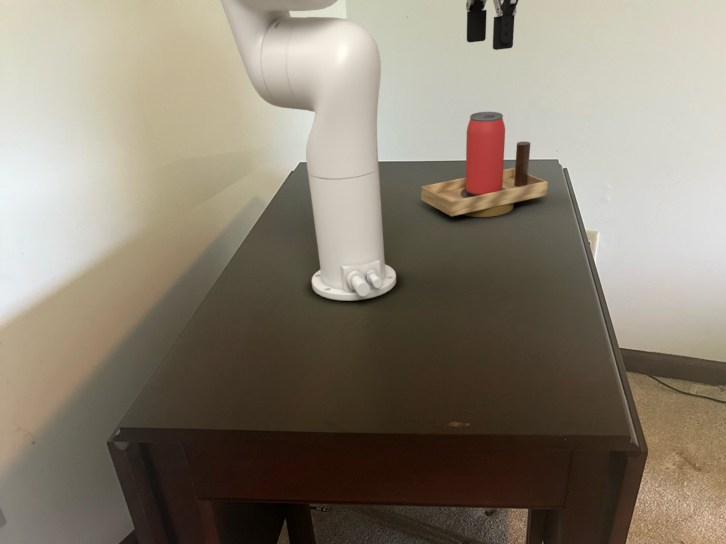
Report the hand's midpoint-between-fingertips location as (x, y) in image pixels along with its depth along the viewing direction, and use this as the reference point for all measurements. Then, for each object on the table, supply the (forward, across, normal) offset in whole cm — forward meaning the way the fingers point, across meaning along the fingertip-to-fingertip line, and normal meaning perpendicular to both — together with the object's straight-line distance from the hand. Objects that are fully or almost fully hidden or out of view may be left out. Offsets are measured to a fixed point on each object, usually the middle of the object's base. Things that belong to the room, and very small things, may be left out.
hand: (488, 44), depth 107 cm
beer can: (+22, 0, 0) cm, 22 cm away
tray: (+23, 0, 0) cm, 23 cm away
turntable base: (+24, 0, 0) cm, 24 cm away
